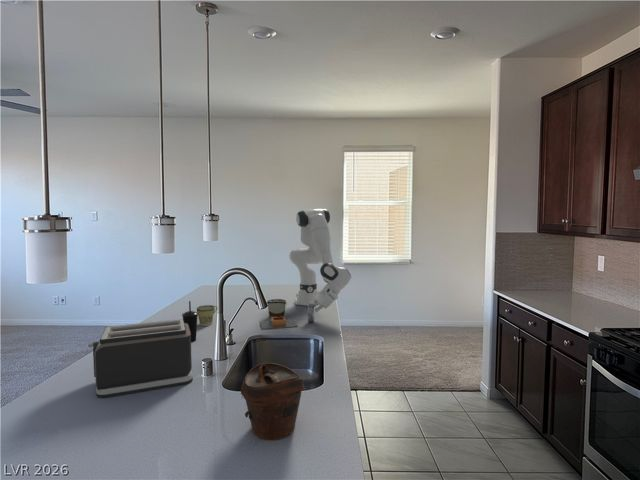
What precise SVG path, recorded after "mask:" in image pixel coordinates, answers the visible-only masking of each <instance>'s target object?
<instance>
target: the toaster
mask: <svg viewBox="0 0 640 480" xmlns="http://www.w3.org/2000/svg"><path fill="white" fill-rule="evenodd" d="M87 345H88V346H87V347H88V348H92V355H93V356H92V357H93V377H94V378H95V387H96V388H95V391H96V392H95V393H96V398H99V399H107V398H108V399H109V398H112V397H113V398H115V397H120V396H125V395H132V394H137V393H143V392H149V391H155V390H162V389H167V388H169V389H170V388H174V387H179V386H186V385H189V384H191V383H192V382H193V370H192V342H191V333H190V329H189V325H188V324H186V323H184V319H183V318H179V319H178V318H177V319H172V320H171V319H169V320H161V321H150V322H140V323H139V322H138V323H133V324H122V325H121V324H119V325H112V326H105V328H104V329H103V333H102V334H101V337H100V338H99V341H93V342H88V344H87Z"/></svg>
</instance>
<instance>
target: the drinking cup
mask: <svg viewBox="0 0 640 480" xmlns="http://www.w3.org/2000/svg"><path fill="white" fill-rule="evenodd" d="M191 305H192V304H191V300H190V301H188V306H189V307H188V309H189V310H188V311H185V312H183V313H182V314H181V316H182V319H184V323H186V324H188V325H189V329H190V333H191V343H194V342H196V341H197V330H198V329H197V327H198V318H199V317H198V313H197V311H194V310H192V309H191V308H192V307H191Z"/></svg>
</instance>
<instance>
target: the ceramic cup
mask: <svg viewBox="0 0 640 480" xmlns="http://www.w3.org/2000/svg"><path fill="white" fill-rule="evenodd" d="M217 310H218V306H217V305H212V304H205V305H199V306H196V312H197V313H198V317H197V318H198V321H199V325H200V326H202V327H204V326H205V327H207V326H210V325H212V324H213V320H214V314H215V313H216V312H217Z"/></svg>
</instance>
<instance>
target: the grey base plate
mask: <svg viewBox="0 0 640 480" xmlns="http://www.w3.org/2000/svg"><path fill="white" fill-rule="evenodd" d="M259 324H260V328H261V330H272V329H287V328H288V329H289V328H298V327H299V326H298V324H297V322H296V321H295V319H294V318H293V319H286V317H285V316H283V317H270V320H266V321H265V320H263V321H259Z"/></svg>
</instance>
